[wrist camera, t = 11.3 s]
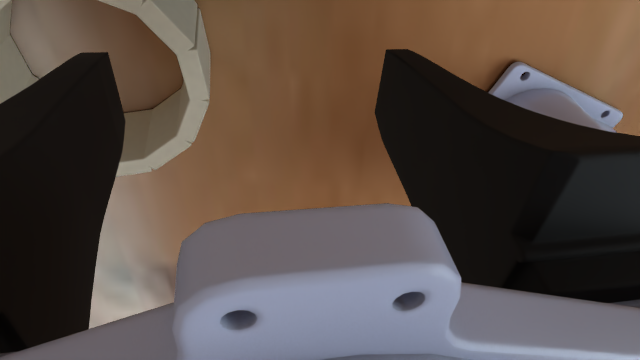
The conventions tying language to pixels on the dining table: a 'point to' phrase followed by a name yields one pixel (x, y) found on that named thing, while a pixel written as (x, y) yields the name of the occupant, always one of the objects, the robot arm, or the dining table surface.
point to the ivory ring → (165, 119)
